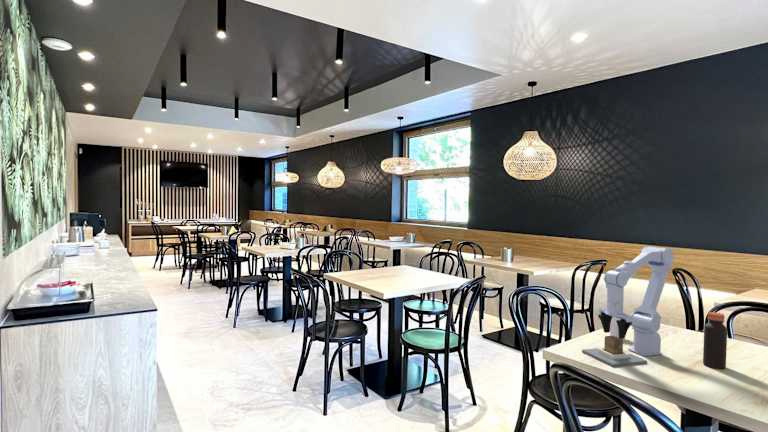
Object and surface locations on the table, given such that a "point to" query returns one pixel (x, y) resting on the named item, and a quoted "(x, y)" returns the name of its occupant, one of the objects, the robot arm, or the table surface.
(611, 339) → the peg
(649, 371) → the table surface
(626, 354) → the holder
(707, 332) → the bottle
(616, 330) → the smoothie
